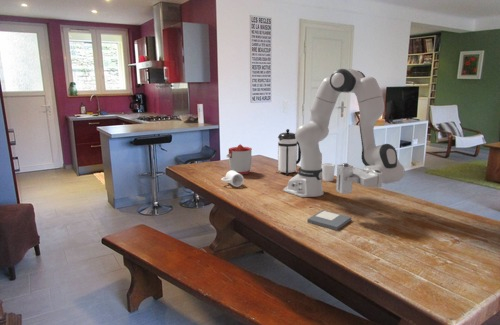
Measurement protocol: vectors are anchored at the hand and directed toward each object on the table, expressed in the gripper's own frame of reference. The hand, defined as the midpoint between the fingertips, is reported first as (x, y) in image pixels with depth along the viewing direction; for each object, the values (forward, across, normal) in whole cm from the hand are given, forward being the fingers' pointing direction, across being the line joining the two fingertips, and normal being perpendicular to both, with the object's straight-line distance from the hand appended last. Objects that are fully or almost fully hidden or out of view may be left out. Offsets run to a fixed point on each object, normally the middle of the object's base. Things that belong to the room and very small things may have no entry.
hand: (342, 177), depth 153 cm
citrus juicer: (+27, -90, +20) cm, 96 cm away
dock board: (+7, +3, +19) cm, 20 cm away
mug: (+38, -64, +20) cm, 77 cm away
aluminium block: (-1, 0, +7) cm, 7 cm away
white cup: (-23, -58, +19) cm, 65 cm away
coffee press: (-6, -82, +20) cm, 85 cm away
